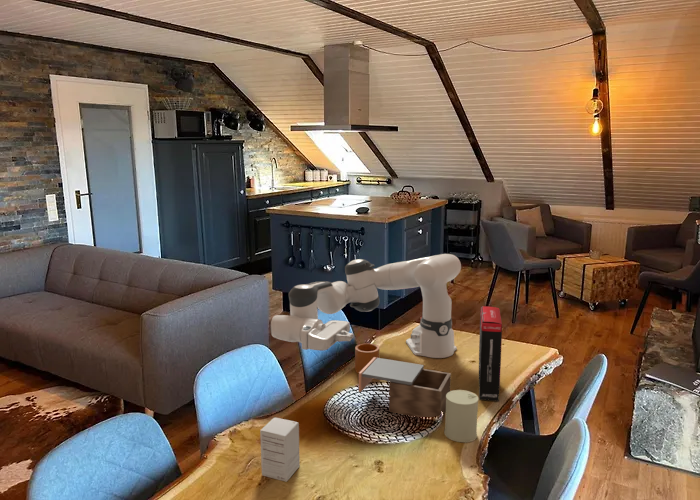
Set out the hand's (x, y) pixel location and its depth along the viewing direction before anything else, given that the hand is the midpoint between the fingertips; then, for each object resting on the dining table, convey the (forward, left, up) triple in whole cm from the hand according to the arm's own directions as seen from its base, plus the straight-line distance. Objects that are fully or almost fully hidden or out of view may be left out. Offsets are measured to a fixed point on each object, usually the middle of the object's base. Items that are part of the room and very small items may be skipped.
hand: (352, 337), depth 177 cm
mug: (-18, +13, -20) cm, 30 cm away
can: (+34, +21, -20) cm, 45 cm away
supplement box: (+34, -32, -20) cm, 51 cm away
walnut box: (+15, +17, -20) cm, 31 cm away
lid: (+9, +10, -15) cm, 20 cm away
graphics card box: (+12, +44, -20) cm, 50 cm away
